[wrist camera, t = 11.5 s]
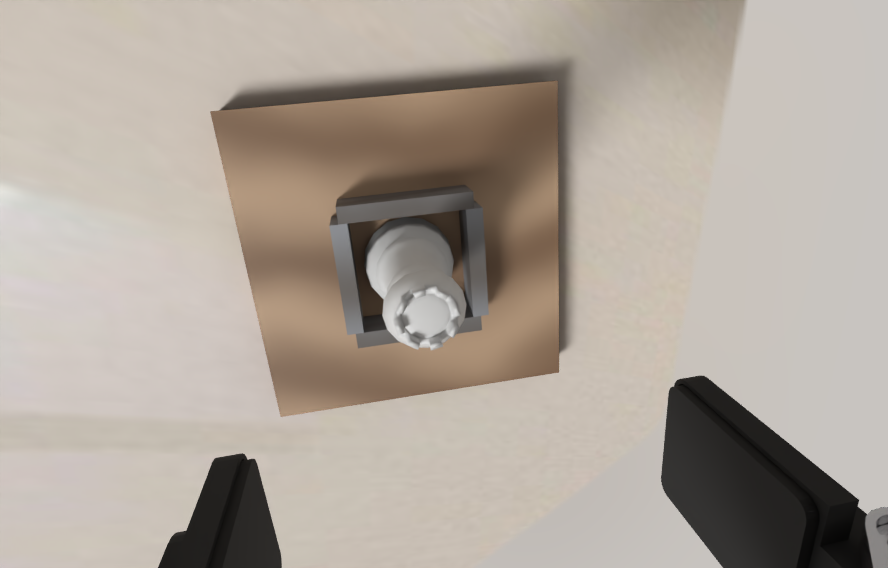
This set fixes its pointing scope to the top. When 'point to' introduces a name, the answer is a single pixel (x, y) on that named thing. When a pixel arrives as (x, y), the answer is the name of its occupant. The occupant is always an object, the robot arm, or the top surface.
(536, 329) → the jig board
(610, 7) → the top surface
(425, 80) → the top surface
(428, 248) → the rook chess piece
